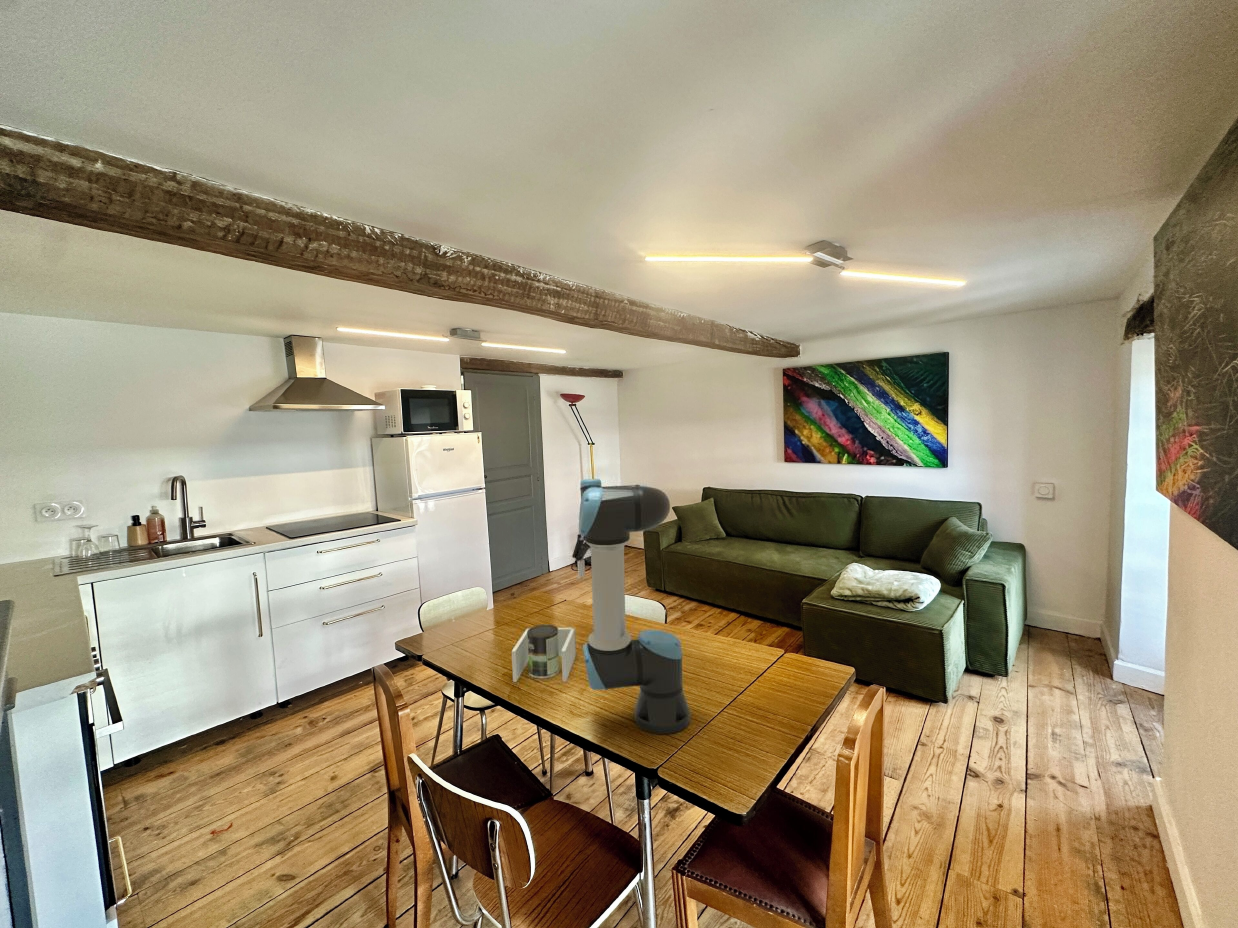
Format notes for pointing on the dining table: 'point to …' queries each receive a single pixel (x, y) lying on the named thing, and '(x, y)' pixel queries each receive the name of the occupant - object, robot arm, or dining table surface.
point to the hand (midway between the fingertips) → (594, 580)
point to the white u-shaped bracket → (564, 646)
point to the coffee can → (543, 651)
